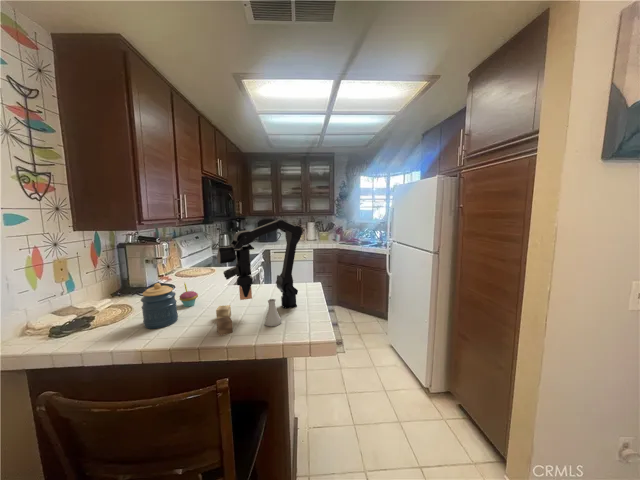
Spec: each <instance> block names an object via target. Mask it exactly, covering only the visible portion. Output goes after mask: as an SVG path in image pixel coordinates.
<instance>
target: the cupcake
mask: <svg viewBox="0 0 640 480" xmlns="http://www.w3.org/2000/svg"><path fill="white" fill-rule="evenodd" d="M183 285H184V290H185V291H184V292H182V293H181V294H180V295H179V296H178V297H179V301H181V303H182V304H183V306H184V308H188V307H189V308H190V307H193V306H195V303H196V300H197V299H198V298H199V294H198V292H196V291H194V290H191V291H190V290H188V288H187V283H186V282H185V281H184V284H183Z"/></svg>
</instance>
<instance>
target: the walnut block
mask: <svg viewBox="0 0 640 480" xmlns="http://www.w3.org/2000/svg"><path fill="white" fill-rule="evenodd" d="M215 323H216V331H217V334H218V335H219V337H220V336H221V337H222V336H225V335H228V334H232V333H234V328H233V319H232V318H231V317H229V316H227V317H223V318H219V319H217V318H216V319H215Z"/></svg>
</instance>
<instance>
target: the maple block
mask: <svg viewBox="0 0 640 480" xmlns="http://www.w3.org/2000/svg"><path fill="white" fill-rule="evenodd" d="M215 313H216V319H219V318H223V317H227V316H229V317H230V318H231V316H232V308H231V305H229V304H228V305H227V304H226V305H218V306H217V308H216V309H215Z"/></svg>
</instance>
